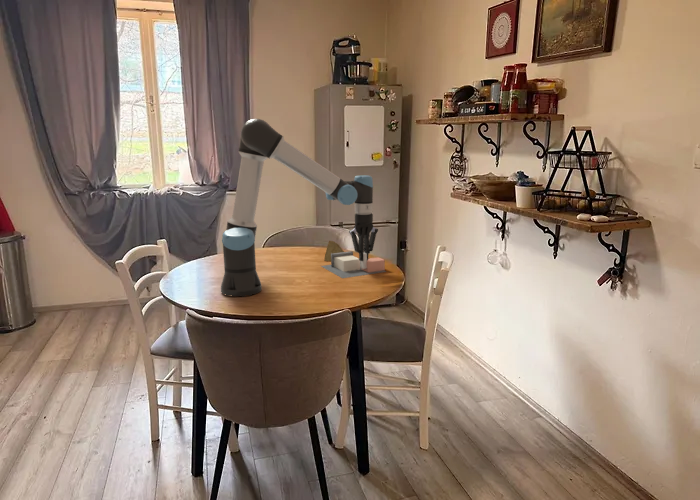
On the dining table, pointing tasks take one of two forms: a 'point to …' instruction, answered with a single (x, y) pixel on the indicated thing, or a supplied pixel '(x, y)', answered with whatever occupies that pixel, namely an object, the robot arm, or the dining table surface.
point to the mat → (349, 273)
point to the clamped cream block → (345, 261)
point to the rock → (332, 250)
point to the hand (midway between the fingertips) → (363, 267)
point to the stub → (375, 265)
